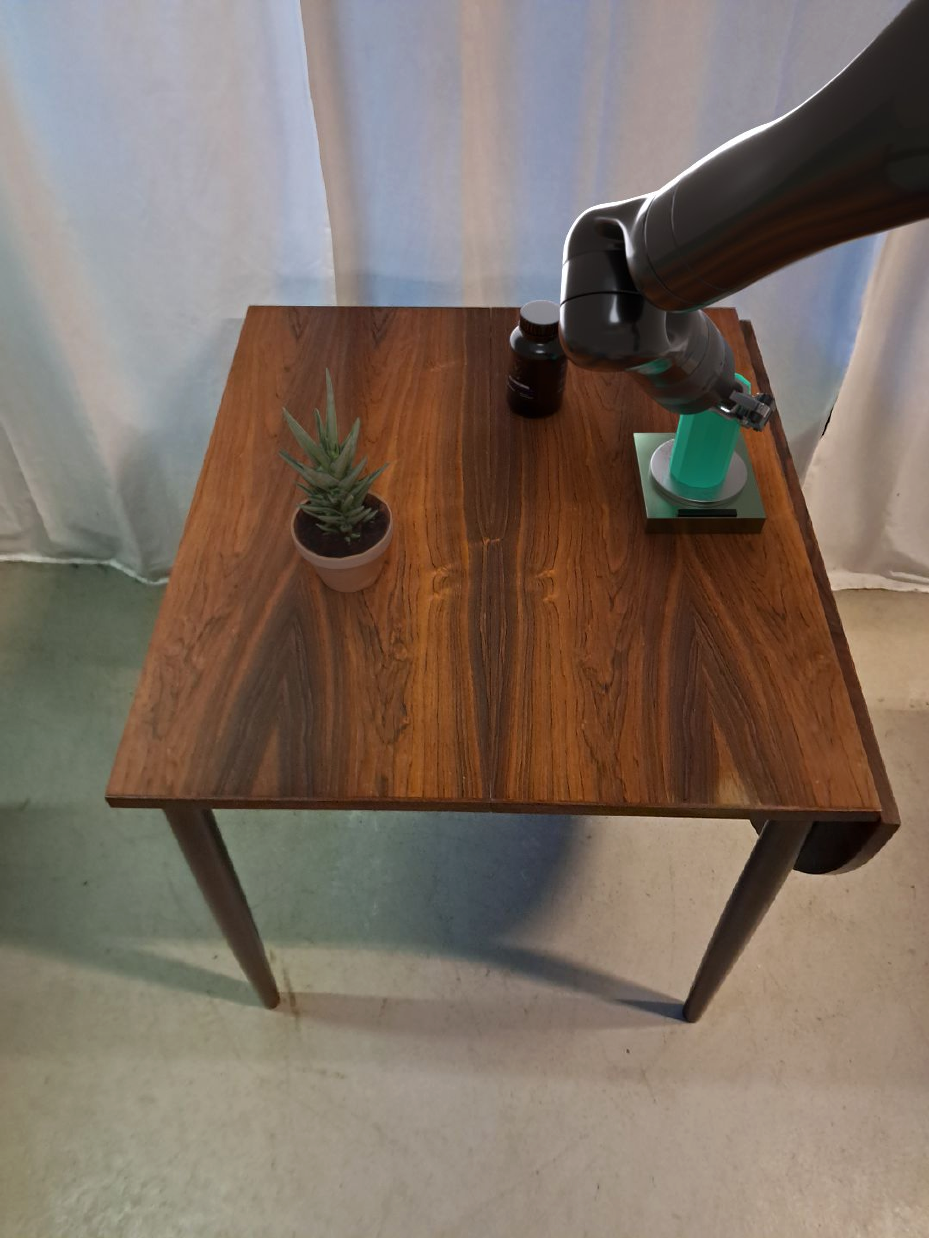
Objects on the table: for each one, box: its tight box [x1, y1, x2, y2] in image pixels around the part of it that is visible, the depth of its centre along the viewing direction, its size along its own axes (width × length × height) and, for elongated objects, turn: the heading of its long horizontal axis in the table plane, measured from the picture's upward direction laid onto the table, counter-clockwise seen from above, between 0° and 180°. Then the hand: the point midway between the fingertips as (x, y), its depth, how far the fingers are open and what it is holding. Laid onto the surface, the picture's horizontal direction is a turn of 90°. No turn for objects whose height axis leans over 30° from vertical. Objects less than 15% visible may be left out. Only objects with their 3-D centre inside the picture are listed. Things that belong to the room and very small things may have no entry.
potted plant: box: [277, 366, 395, 593], centre depth 79 cm, size 10×10×25 cm
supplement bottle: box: [505, 299, 569, 419], centre depth 100 cm, size 7×7×12 cm
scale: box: [630, 432, 767, 535], centre depth 94 cm, size 13×12×3 cm
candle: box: [670, 372, 752, 488], centre depth 88 cm, size 6×6×12 cm
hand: (722, 404), depth 88 cm, fingers open, 6 cm apart
